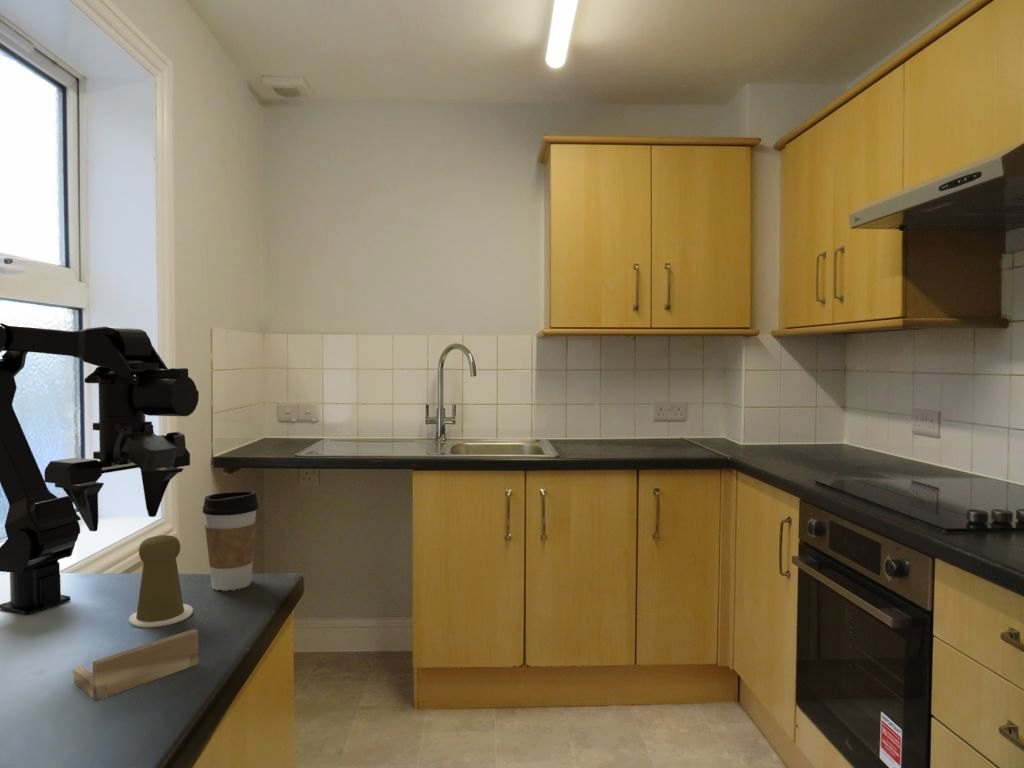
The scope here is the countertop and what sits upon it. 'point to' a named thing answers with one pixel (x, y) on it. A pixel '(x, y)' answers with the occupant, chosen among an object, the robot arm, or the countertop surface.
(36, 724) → the countertop surface
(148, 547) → the cork
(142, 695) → the countertop surface
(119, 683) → the holder
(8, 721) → the countertop surface
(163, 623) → the saucer
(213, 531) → the coffee cup
